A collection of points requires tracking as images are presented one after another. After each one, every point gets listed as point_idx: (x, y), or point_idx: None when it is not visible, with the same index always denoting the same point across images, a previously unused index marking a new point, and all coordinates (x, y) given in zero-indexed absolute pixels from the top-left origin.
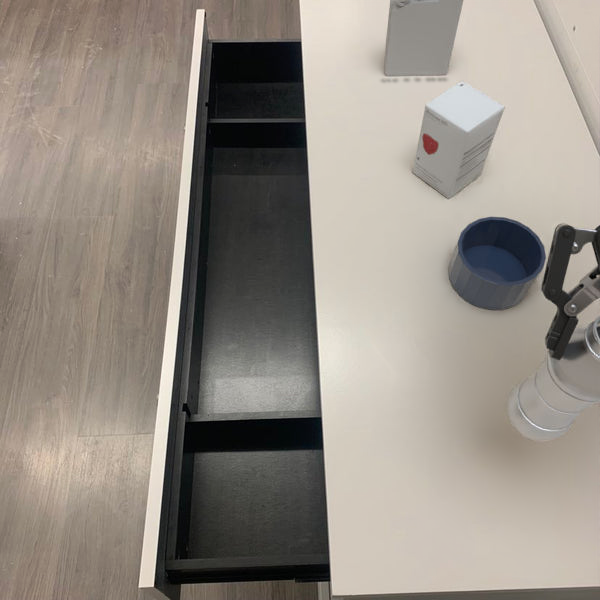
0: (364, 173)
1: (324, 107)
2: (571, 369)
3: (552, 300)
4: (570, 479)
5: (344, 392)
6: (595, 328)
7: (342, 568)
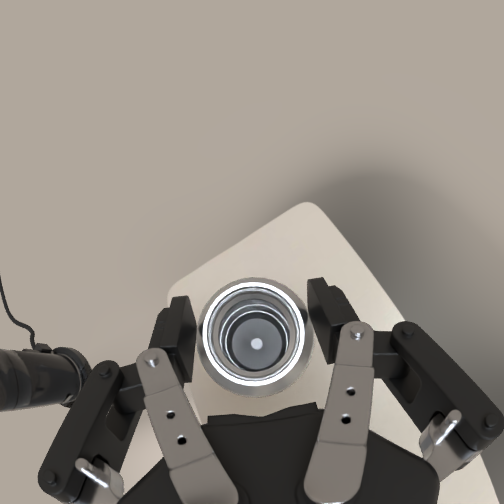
0: (449, 483)
1: (485, 495)
2: (281, 288)
3: (397, 323)
4: (197, 352)
5: (385, 316)
6: (299, 315)
7: (314, 208)
